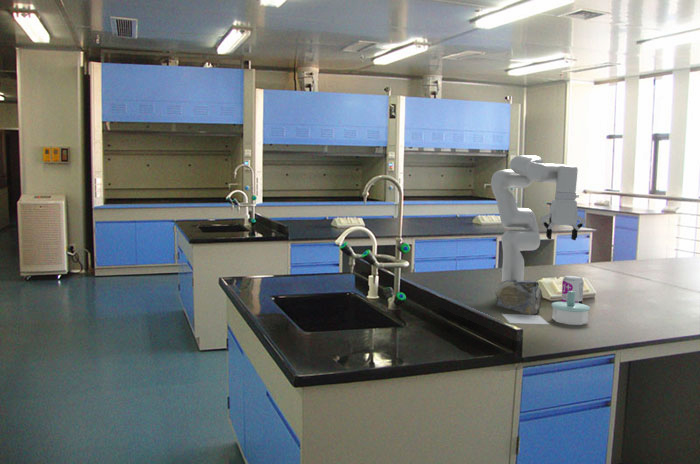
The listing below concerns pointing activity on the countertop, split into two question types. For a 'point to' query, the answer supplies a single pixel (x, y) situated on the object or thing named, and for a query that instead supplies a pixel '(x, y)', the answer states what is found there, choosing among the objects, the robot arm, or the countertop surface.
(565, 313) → the bowl
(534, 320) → the mat
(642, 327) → the countertop surface
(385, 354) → the countertop surface
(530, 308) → the fossil rock
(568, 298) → the lid
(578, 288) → the supplement can
